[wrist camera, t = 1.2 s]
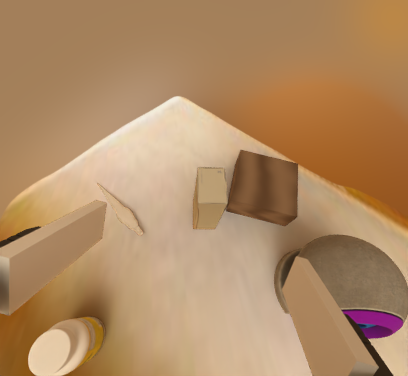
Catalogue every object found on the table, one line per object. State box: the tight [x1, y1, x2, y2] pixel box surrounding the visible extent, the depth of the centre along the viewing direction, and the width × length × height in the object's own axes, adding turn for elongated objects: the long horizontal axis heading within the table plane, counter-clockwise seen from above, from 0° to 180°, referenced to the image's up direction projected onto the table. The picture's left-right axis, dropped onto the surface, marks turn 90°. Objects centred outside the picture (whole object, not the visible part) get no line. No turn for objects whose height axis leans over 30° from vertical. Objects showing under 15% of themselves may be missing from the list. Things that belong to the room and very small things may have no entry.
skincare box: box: [193, 167, 228, 229], centre depth 36 cm, size 6×4×12 cm
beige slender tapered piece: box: [97, 183, 143, 236], centre depth 40 cm, size 15×3×2 cm, turn 45°
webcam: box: [274, 235, 408, 339], centre depth 30 cm, size 13×13×15 cm
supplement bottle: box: [28, 317, 105, 376], centre depth 26 cm, size 5×5×10 cm
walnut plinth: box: [226, 150, 298, 226], centre depth 42 cm, size 12×12×5 cm
